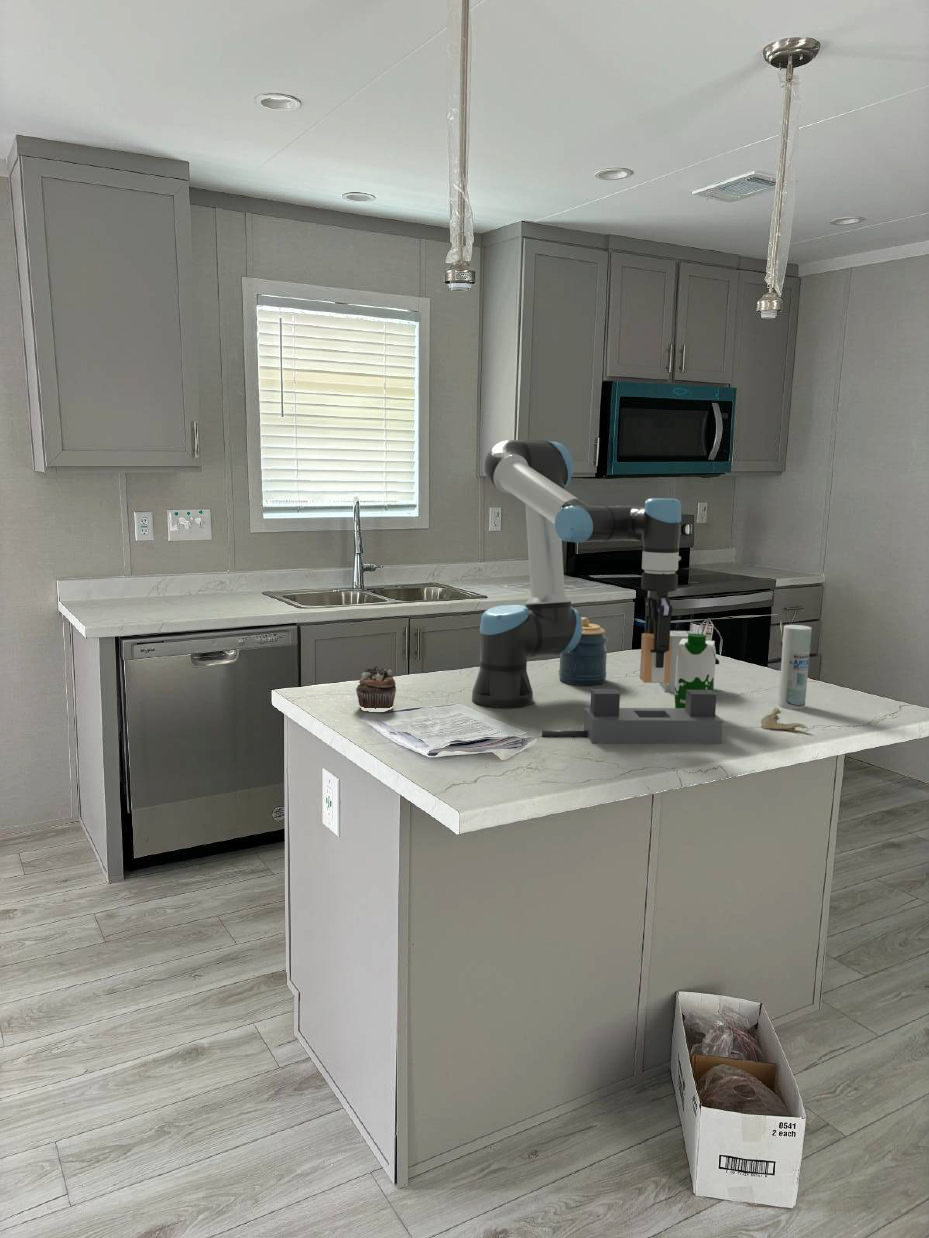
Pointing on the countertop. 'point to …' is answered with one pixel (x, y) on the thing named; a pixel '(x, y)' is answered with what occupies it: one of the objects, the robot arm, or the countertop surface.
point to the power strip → (649, 721)
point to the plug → (647, 659)
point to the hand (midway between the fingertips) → (654, 679)
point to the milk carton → (694, 666)
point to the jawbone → (771, 723)
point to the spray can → (794, 666)
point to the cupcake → (376, 689)
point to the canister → (586, 657)
